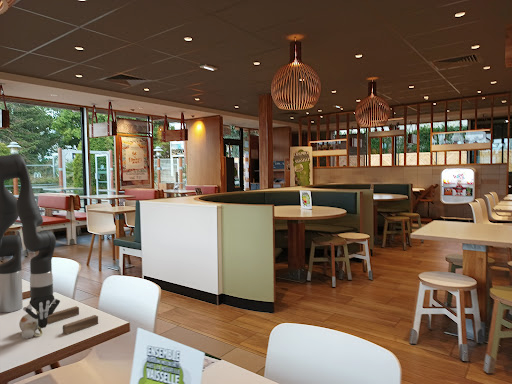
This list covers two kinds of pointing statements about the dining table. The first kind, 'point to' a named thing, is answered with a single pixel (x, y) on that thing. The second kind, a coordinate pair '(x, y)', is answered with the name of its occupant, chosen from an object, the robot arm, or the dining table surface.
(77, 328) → the wooden guide rails
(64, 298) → the dining table surface
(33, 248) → the robot arm
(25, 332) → the mug
